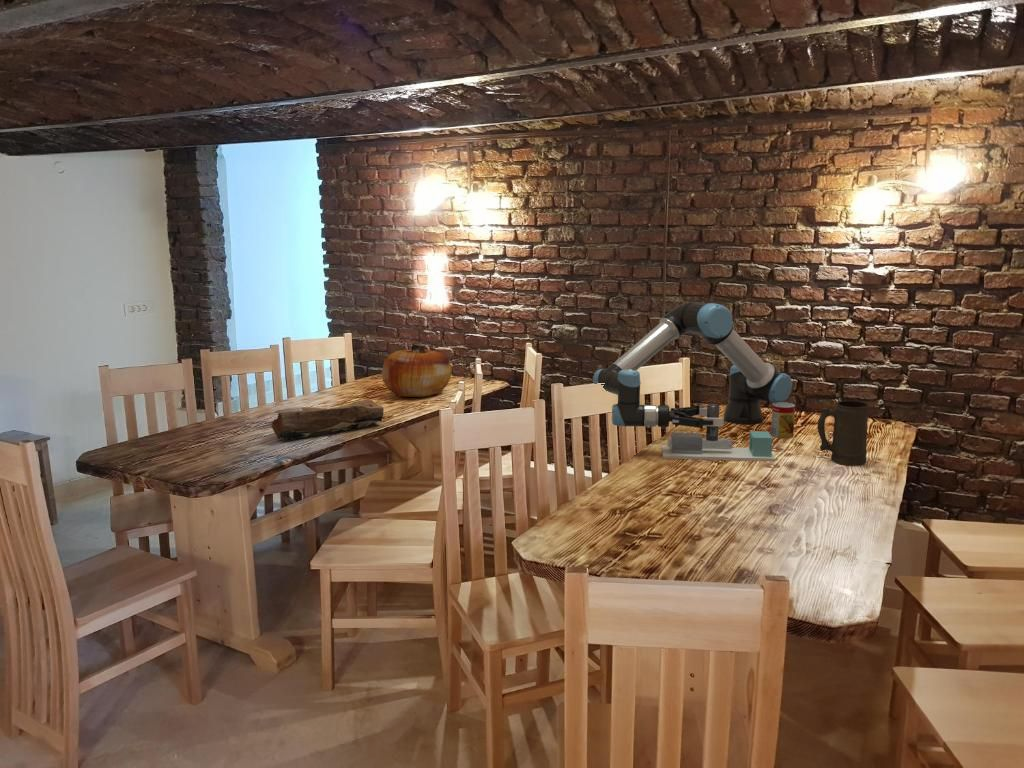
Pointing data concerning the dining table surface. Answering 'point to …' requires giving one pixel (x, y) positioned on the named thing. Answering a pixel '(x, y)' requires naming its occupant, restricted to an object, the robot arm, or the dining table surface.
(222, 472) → the dining table surface
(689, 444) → the sleeve
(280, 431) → the log
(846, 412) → the beer stein
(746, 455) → the baseboard
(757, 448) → the socket
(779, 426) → the canned food
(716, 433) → the grey black upright frame
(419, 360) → the pumpkin
